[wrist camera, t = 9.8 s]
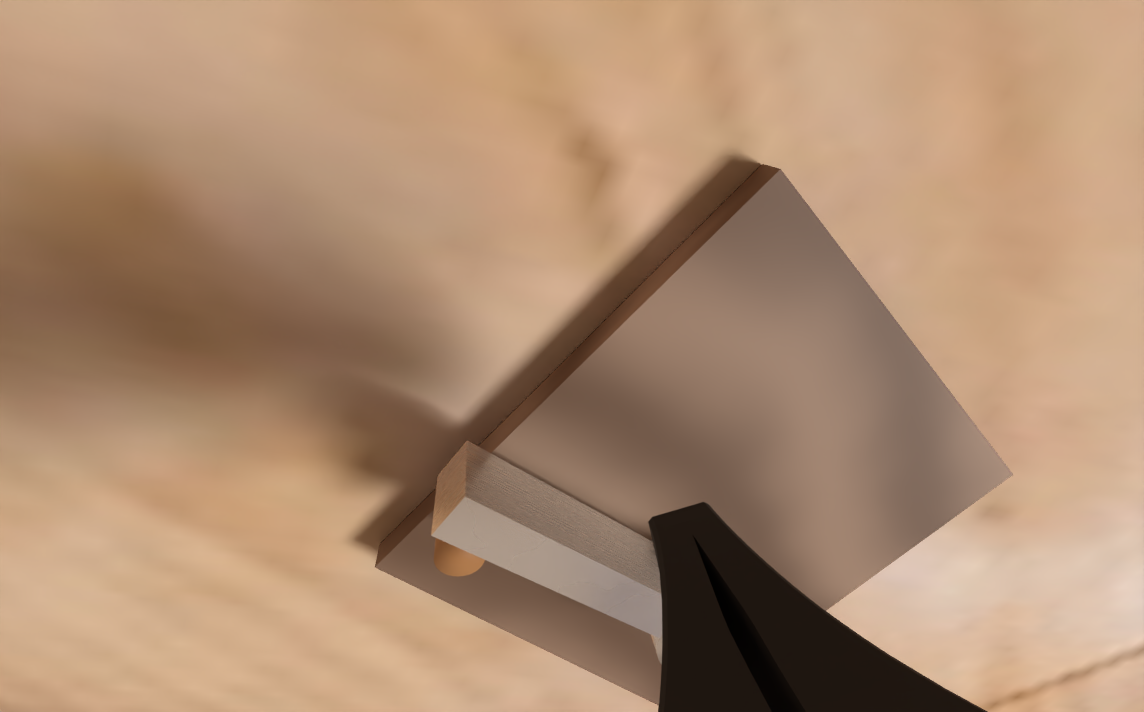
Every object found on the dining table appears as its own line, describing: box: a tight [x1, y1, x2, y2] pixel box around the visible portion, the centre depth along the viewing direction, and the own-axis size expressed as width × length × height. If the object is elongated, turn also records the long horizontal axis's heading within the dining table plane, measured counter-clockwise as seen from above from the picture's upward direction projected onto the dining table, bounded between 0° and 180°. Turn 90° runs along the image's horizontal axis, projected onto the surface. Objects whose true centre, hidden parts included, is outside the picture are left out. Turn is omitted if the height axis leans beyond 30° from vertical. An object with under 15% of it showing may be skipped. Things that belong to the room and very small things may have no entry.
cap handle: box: [431, 441, 662, 664], centre depth 17 cm, size 12×4×2 cm, turn 51°
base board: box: [375, 164, 1013, 705], centre depth 18 cm, size 17×16×3 cm
